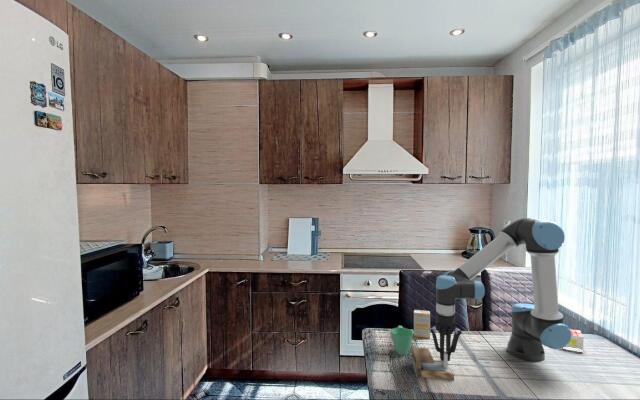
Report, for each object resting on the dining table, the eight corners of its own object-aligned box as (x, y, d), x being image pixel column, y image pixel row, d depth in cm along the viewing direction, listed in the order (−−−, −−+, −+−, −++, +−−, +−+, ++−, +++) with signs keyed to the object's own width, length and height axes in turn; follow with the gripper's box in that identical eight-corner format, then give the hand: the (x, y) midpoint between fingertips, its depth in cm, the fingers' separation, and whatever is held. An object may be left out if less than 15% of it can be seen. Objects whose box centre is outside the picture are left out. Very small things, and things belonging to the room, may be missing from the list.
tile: (441, 368, 143) (441, 361, 143) (445, 377, 136) (445, 370, 136) (420, 367, 144) (420, 360, 144) (423, 376, 137) (423, 369, 137)
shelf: (446, 363, 146) (446, 347, 146) (455, 380, 133) (455, 363, 133) (411, 362, 148) (412, 346, 147) (417, 378, 135) (417, 361, 134)
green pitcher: (414, 358, 151) (414, 336, 151) (392, 357, 152) (392, 335, 152) (409, 343, 166) (409, 324, 165) (389, 342, 167) (389, 323, 166)
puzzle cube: (562, 349, 159) (562, 333, 159) (560, 343, 166) (560, 327, 166) (583, 353, 155) (583, 337, 155) (580, 346, 162) (580, 330, 162)
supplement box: (430, 335, 175) (430, 310, 175) (430, 339, 171) (430, 314, 170) (414, 333, 178) (414, 309, 178) (413, 336, 173) (413, 312, 173)
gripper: (458, 310, 142) (458, 364, 143) (427, 309, 144) (427, 362, 144) (464, 316, 135) (463, 373, 135) (431, 315, 136) (431, 371, 137)
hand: (444, 367), depth 140 cm, fingers closed
